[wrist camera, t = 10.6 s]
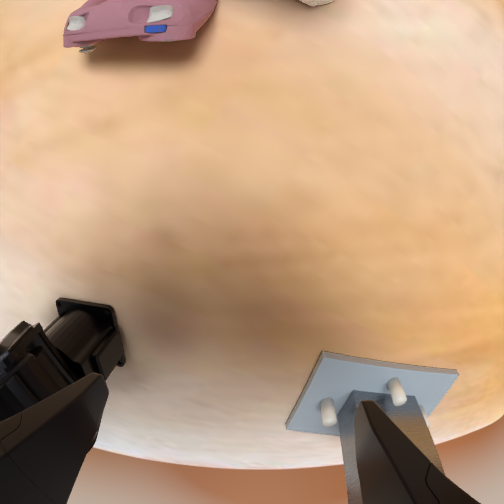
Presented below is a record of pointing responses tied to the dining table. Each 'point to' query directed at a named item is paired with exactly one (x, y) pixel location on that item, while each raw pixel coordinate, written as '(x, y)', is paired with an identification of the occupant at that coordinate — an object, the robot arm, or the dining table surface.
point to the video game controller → (135, 21)
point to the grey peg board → (363, 389)
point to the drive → (402, 416)
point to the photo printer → (315, 2)
